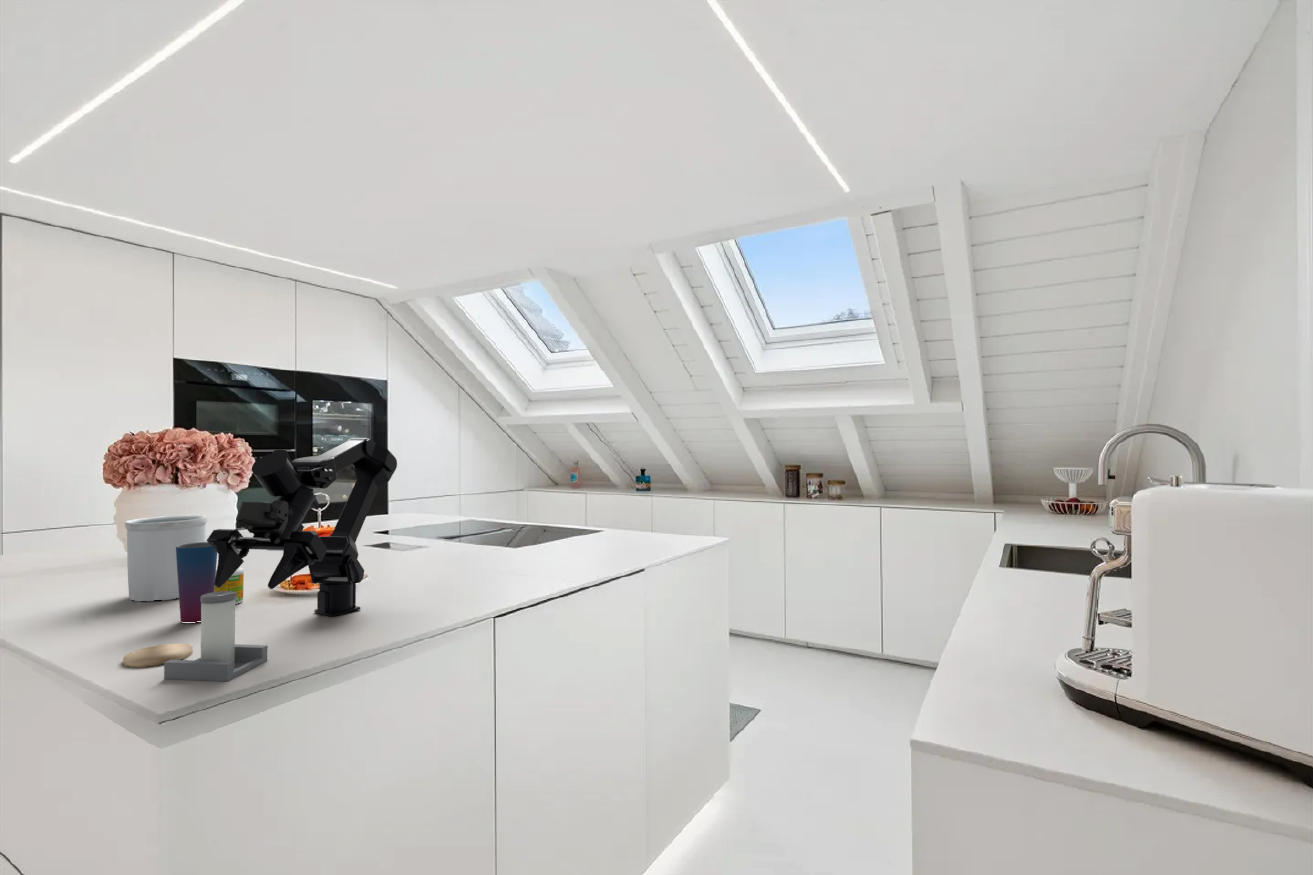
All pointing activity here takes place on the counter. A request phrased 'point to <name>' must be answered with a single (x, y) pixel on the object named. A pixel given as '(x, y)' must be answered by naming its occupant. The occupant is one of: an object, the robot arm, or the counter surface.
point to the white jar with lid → (218, 626)
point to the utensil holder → (158, 553)
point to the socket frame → (216, 665)
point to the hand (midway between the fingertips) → (243, 586)
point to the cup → (194, 577)
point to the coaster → (157, 655)
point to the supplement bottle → (234, 585)
